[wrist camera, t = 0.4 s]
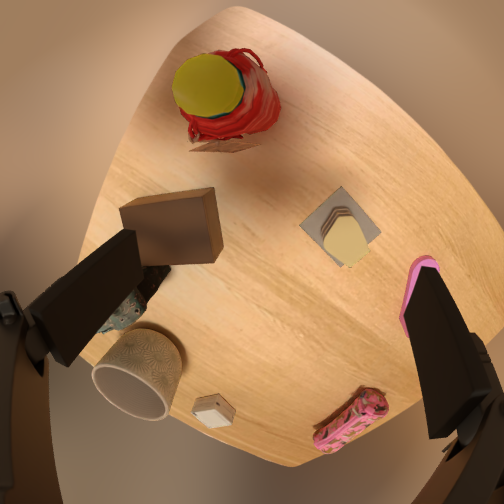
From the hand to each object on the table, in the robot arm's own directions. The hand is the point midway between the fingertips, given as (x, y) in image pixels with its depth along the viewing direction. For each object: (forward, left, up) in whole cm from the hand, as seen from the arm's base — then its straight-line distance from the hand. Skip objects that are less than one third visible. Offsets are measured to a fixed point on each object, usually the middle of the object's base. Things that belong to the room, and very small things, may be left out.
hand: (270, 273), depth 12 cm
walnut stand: (+7, -19, -32) cm, 37 cm away
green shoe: (+17, -30, -32) cm, 47 cm away
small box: (+55, -22, -32) cm, 67 cm away
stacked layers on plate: (+10, +7, -32) cm, 34 cm away
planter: (+35, -32, -32) cm, 57 cm away
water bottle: (-8, -5, -32) cm, 33 cm away
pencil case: (+57, +12, -32) cm, 67 cm away
